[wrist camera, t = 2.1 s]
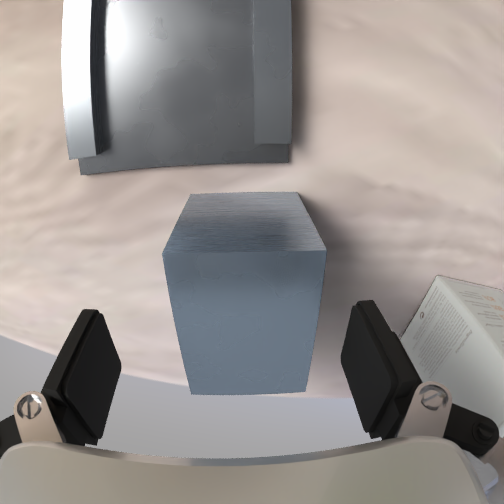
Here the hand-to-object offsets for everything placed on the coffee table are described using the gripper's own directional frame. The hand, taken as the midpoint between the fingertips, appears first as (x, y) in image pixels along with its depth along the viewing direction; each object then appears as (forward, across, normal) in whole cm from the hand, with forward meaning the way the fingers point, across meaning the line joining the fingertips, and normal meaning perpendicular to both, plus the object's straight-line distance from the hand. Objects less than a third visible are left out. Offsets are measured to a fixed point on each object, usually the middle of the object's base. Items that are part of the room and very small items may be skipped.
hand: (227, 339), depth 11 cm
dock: (+6, +2, -14) cm, 15 cm away
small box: (+6, -16, +5) cm, 18 cm away
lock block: (+6, -1, 0) cm, 6 cm away
